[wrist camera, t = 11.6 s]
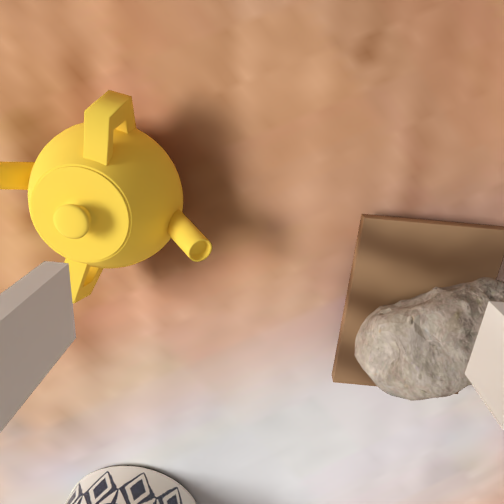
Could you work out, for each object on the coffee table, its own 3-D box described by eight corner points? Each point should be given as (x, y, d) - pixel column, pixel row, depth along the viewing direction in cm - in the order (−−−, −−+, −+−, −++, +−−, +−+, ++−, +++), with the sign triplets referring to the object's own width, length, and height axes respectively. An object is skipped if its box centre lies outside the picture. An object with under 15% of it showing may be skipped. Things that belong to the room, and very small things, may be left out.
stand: (357, 208, 39) (364, 217, 36) (494, 220, 39) (512, 230, 36) (329, 364, 45) (333, 382, 43) (446, 375, 45) (457, 393, 42)
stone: (504, 325, 39) (576, 398, 30) (358, 364, 42) (383, 443, 32) (489, 245, 36) (564, 298, 27) (334, 292, 39) (353, 356, 29)
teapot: (11, 237, 42) (-76, 286, 31) (32, 53, 35) (-69, 38, 25) (198, 296, 43) (174, 362, 33) (251, 130, 37) (243, 146, 26)
